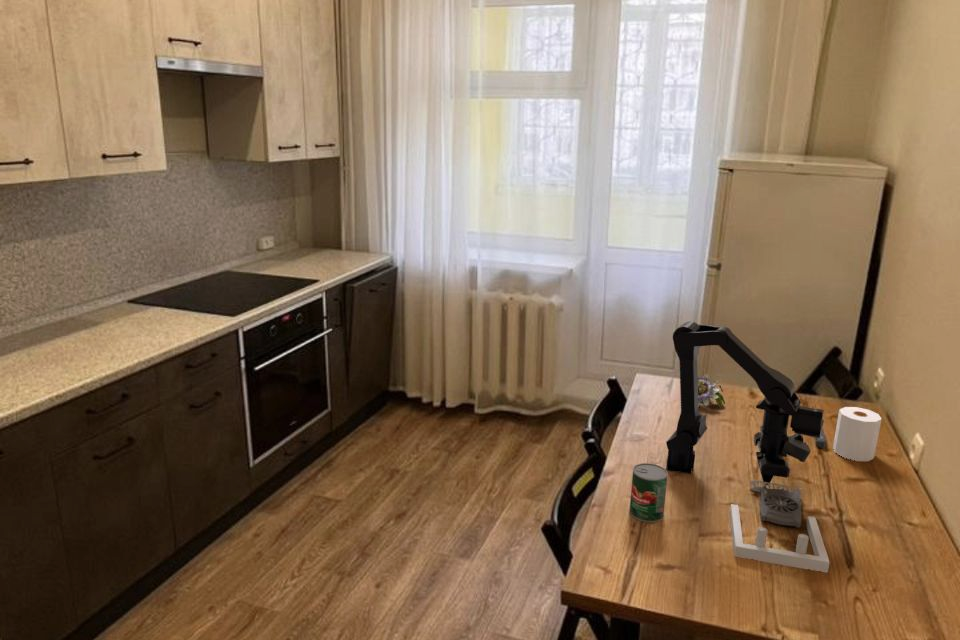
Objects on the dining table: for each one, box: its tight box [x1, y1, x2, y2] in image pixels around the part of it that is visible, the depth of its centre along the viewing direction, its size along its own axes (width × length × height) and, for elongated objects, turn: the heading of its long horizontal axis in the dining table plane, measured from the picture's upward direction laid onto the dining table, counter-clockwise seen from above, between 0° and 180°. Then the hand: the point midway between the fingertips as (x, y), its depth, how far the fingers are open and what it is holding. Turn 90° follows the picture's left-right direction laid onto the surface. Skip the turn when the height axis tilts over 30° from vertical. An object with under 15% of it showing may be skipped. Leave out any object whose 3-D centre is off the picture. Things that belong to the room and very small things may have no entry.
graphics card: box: [749, 479, 802, 528], centre depth 165 cm, size 17×4×12 cm
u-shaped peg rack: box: [729, 503, 831, 574], centre depth 152 cm, size 18×18×6 cm
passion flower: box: [698, 373, 726, 408], centre depth 226 cm, size 11×11×12 cm
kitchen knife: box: [815, 429, 827, 449], centre depth 211 cm, size 29×3×5 cm
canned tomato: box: [628, 462, 669, 523], centre depth 161 cm, size 8×8×11 cm
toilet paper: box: [832, 406, 882, 462], centre depth 193 cm, size 10×10×12 cm
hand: (766, 484), depth 173 cm, fingers closed
